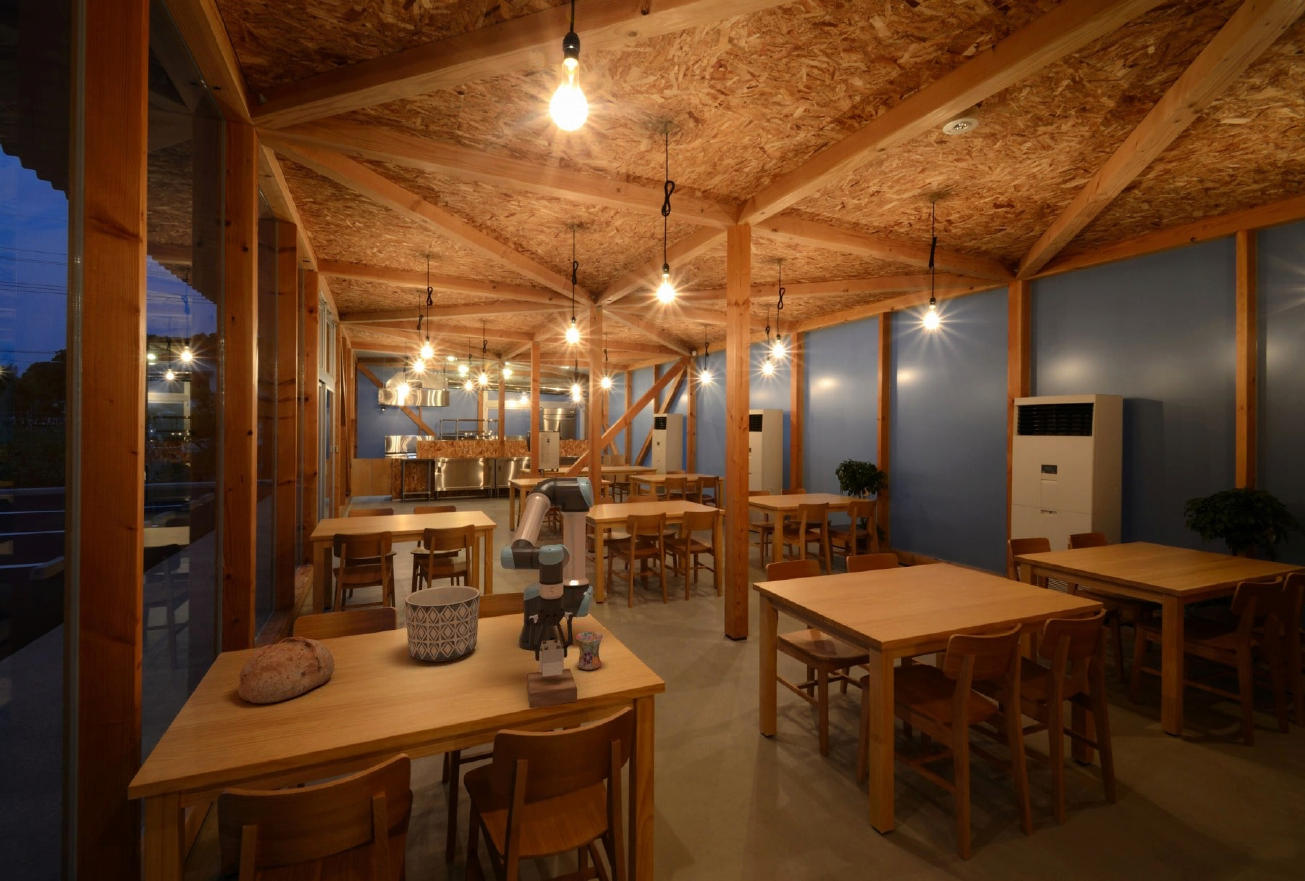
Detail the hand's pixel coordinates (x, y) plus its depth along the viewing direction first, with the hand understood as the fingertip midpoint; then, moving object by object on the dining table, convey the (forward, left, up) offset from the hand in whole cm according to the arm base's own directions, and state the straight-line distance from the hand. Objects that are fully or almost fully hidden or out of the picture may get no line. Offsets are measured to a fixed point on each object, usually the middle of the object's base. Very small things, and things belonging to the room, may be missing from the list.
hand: (551, 669), depth 174 cm
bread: (-28, -81, -8) cm, 86 cm away
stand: (0, 0, -8) cm, 8 cm away
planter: (-44, -35, -8) cm, 56 cm away
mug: (-19, +15, -8) cm, 25 cm away
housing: (0, 0, 0) cm, 0 cm away
